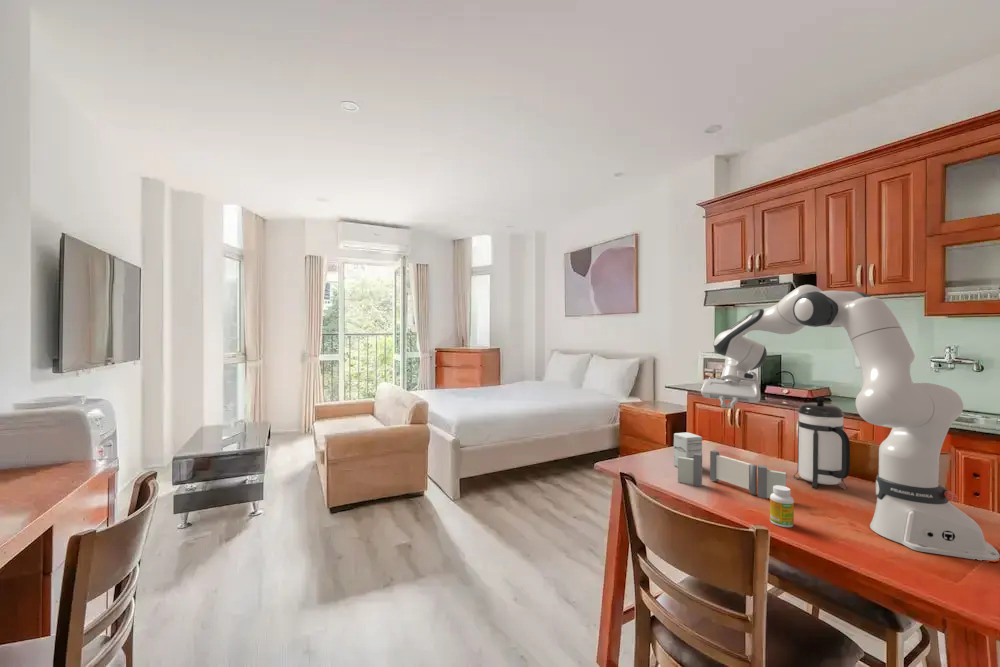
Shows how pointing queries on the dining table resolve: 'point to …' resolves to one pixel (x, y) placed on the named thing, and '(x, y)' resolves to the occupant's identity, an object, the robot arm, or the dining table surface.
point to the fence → (693, 475)
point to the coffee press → (822, 444)
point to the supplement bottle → (781, 506)
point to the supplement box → (686, 445)
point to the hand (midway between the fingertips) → (726, 407)
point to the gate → (733, 471)
